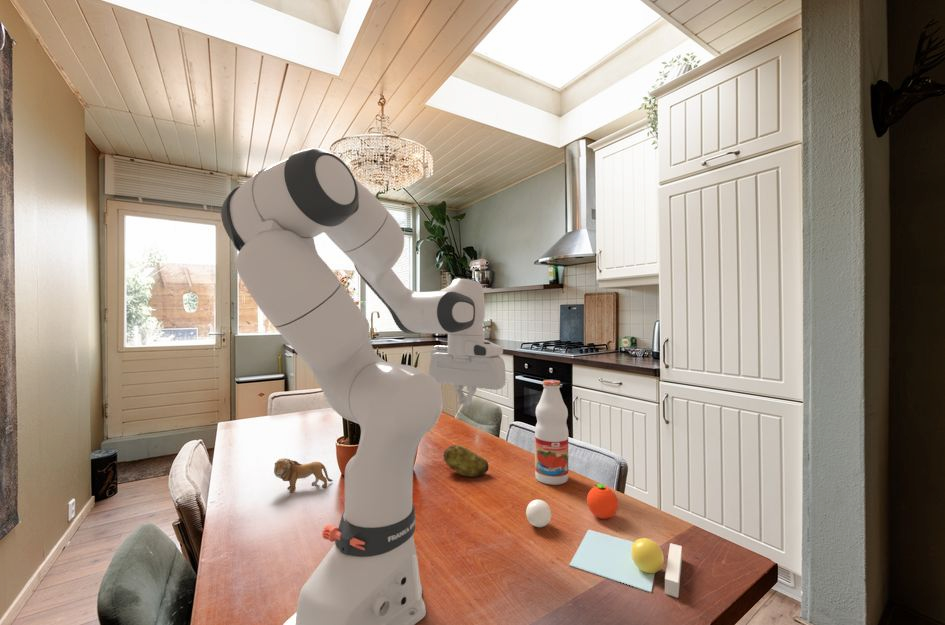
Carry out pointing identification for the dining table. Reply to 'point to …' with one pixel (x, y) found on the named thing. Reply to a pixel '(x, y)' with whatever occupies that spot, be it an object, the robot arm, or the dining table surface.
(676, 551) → the rail
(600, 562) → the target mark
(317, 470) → the lion figurine
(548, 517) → the cue ball
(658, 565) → the yellow ball
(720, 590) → the dining table surface
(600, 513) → the clementine
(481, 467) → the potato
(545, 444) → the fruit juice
